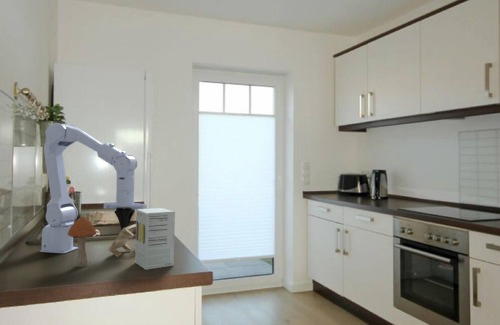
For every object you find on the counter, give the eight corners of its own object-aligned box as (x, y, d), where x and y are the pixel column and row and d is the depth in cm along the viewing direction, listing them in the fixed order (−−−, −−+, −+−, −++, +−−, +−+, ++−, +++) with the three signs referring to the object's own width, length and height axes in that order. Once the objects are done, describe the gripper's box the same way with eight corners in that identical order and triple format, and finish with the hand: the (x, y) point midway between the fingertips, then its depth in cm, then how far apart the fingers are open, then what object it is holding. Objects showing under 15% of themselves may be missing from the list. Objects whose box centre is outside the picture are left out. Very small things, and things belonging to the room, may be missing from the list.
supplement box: (134, 262, 119) (135, 209, 119) (162, 258, 124) (163, 207, 124) (145, 270, 111) (146, 212, 111) (174, 265, 116) (175, 210, 116)
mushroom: (77, 271, 108) (78, 219, 108) (61, 267, 112) (62, 216, 112) (101, 265, 115) (102, 216, 115) (85, 261, 119) (86, 213, 119)
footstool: (108, 249, 125) (123, 228, 124) (121, 244, 134) (135, 223, 133) (117, 257, 125) (132, 235, 124) (130, 251, 134) (144, 230, 133)
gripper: (150, 190, 132) (149, 229, 132) (111, 189, 134) (110, 227, 134) (141, 191, 125) (140, 233, 125) (100, 190, 127) (99, 231, 127)
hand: (124, 230), depth 129 cm, fingers closed
